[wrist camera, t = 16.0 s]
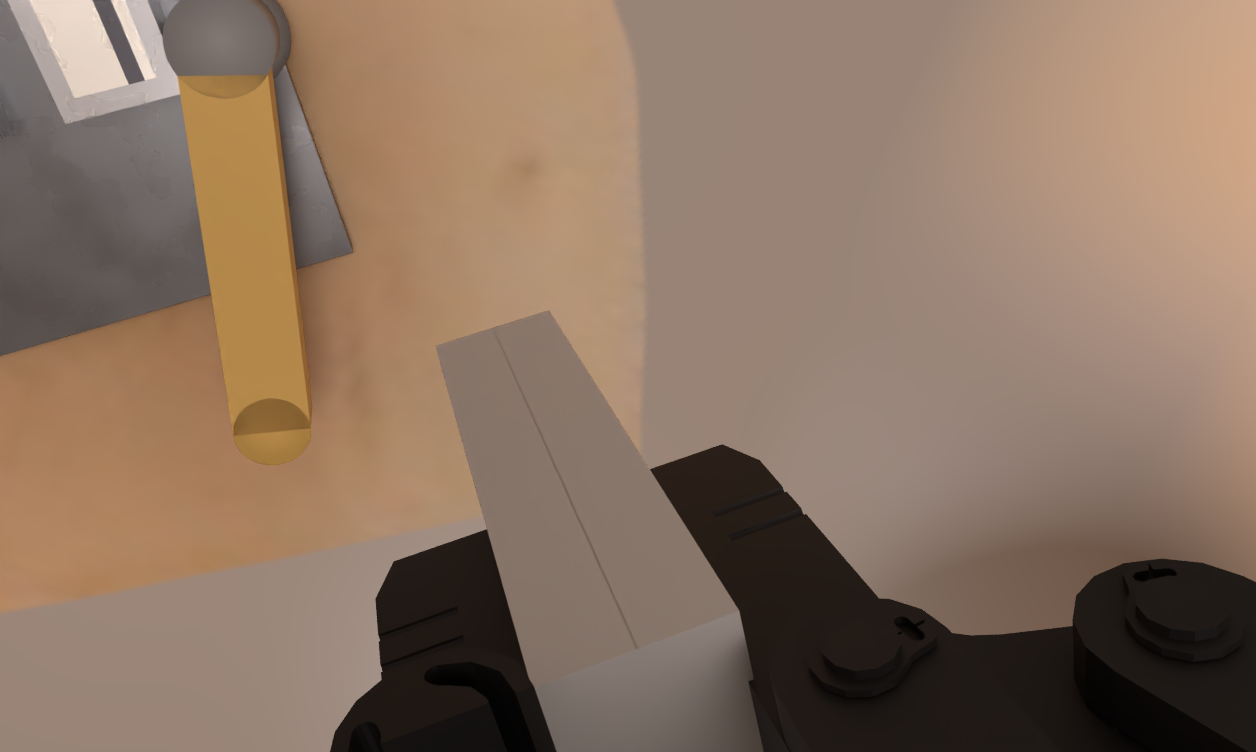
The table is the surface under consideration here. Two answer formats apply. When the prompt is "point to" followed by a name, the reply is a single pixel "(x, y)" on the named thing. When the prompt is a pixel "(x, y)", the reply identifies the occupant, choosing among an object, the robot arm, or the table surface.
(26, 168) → the chassis plate
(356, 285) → the table surface
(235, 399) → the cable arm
